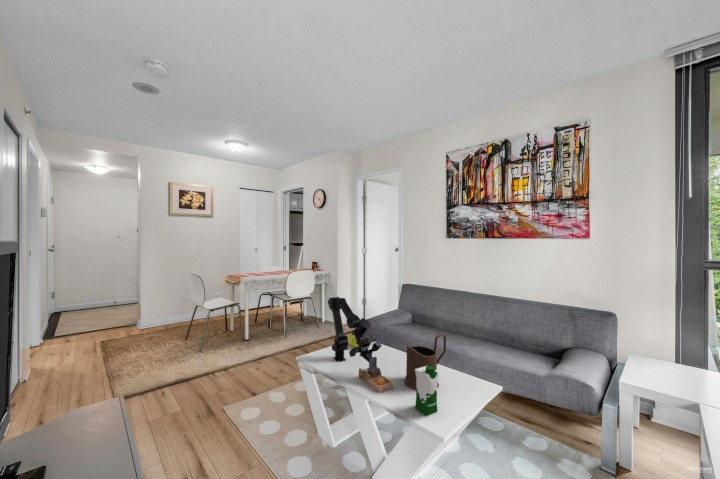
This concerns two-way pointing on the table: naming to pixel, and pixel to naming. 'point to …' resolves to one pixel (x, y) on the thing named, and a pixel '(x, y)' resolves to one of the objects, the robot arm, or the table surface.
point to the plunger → (373, 367)
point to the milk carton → (426, 390)
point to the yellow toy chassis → (352, 340)
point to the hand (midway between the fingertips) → (371, 363)
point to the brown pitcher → (421, 361)
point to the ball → (381, 381)
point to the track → (366, 375)
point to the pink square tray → (380, 388)
